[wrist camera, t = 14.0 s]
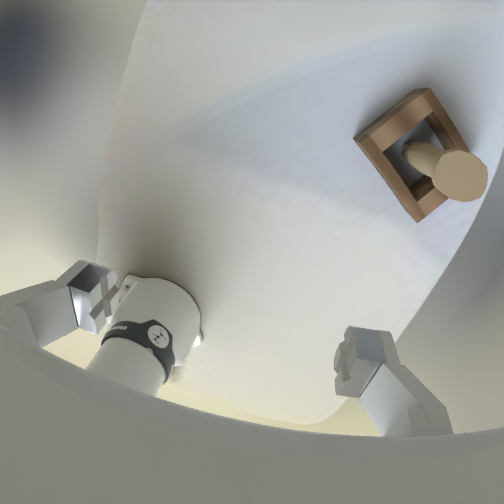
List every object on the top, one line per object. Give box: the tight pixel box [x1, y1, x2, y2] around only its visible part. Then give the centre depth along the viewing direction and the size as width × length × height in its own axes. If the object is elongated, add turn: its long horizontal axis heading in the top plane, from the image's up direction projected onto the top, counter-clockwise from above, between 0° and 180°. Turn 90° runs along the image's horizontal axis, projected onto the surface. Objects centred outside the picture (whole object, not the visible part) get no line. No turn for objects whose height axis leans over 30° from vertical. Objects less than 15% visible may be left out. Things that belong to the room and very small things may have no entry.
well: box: [353, 88, 470, 223], centre depth 33 cm, size 12×13×5 cm
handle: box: [402, 141, 488, 202], centre depth 29 cm, size 5×6×15 cm
